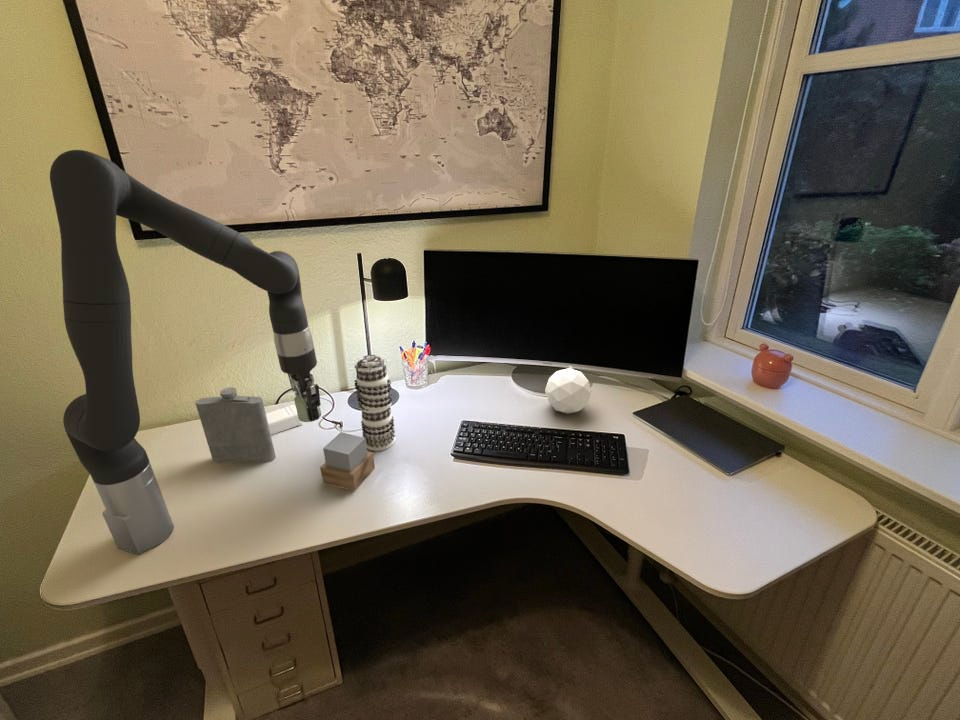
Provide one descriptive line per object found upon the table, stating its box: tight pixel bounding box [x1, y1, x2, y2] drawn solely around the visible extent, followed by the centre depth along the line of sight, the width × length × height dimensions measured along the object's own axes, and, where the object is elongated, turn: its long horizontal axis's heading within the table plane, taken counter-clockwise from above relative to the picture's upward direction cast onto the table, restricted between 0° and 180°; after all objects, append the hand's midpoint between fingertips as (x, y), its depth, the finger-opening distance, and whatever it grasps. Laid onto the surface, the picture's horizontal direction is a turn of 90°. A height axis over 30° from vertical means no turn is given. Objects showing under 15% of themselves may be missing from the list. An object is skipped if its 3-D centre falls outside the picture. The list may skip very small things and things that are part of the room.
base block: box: [319, 450, 376, 492], centre depth 118 cm, size 9×9×5 cm
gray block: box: [322, 432, 368, 472], centre depth 116 cm, size 7×7×5 cm
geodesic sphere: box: [544, 365, 592, 415], centre depth 144 cm, size 14×14×14 cm
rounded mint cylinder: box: [293, 392, 322, 423], centre depth 109 cm, size 5×5×5 cm
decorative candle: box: [354, 354, 396, 452], centre depth 126 cm, size 9×9×25 cm
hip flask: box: [195, 386, 277, 464], centre depth 121 cm, size 16×4×20 cm, turn 91°
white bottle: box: [265, 404, 304, 436], centre depth 138 cm, size 7×13×4 cm, turn 127°
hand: (309, 414), depth 110 cm, fingers closed on rounded mint cylinder, 5 cm apart
